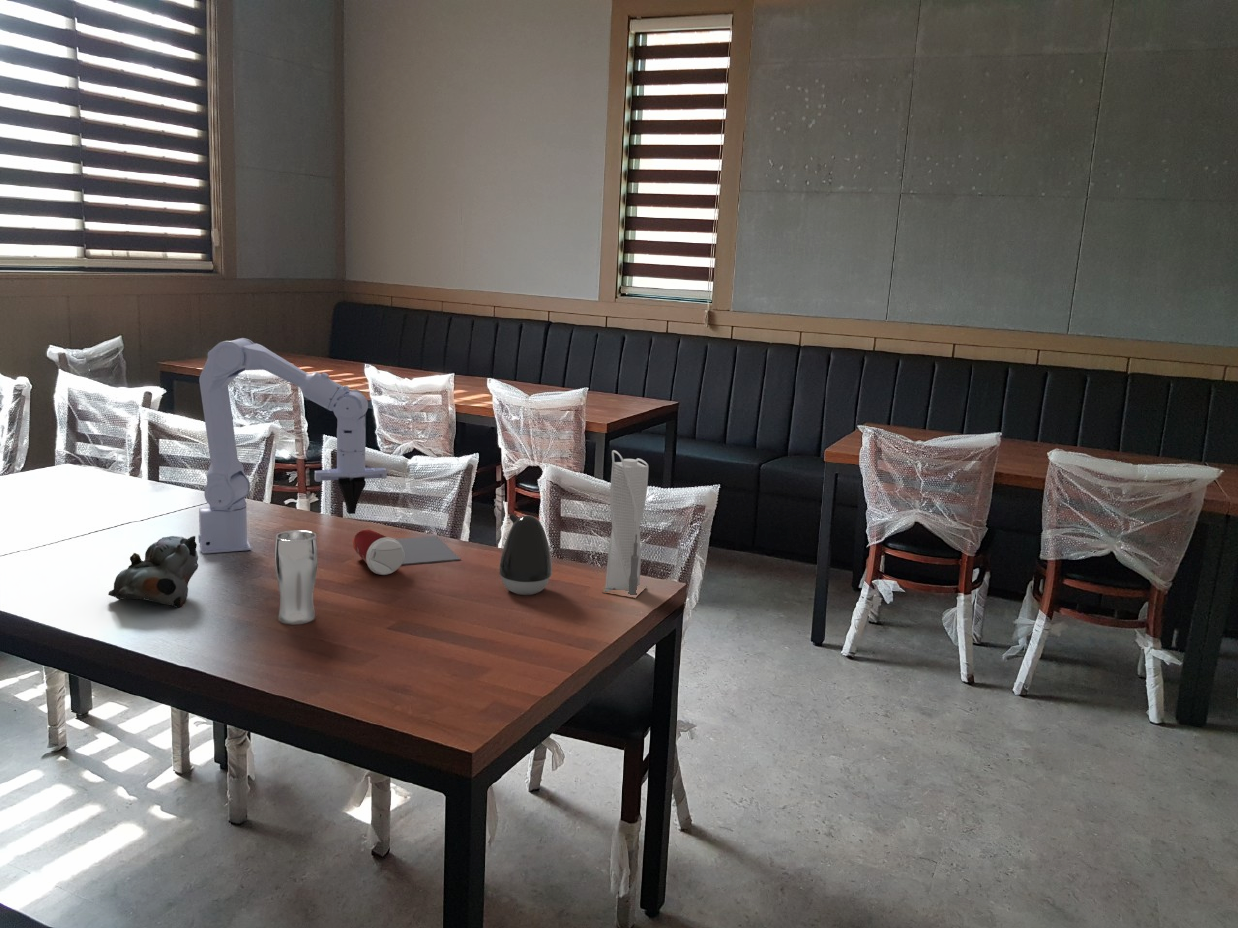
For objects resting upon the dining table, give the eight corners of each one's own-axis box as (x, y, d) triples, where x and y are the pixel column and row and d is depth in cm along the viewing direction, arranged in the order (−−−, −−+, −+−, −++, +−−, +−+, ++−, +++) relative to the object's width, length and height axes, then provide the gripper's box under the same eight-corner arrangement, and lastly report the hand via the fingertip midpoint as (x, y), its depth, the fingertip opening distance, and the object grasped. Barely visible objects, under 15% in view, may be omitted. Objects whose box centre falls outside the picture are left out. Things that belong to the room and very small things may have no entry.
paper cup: (342, 555, 196) (363, 572, 185) (353, 520, 197) (374, 534, 185) (378, 563, 201) (400, 579, 189) (388, 528, 201) (411, 543, 189)
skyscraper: (595, 591, 187) (603, 453, 181) (609, 580, 194) (617, 446, 189) (635, 598, 184) (644, 458, 178) (648, 586, 191) (657, 451, 186)
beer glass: (293, 629, 159) (293, 543, 156) (266, 619, 162) (265, 535, 159) (326, 617, 165) (326, 535, 162) (299, 608, 168) (299, 527, 165)
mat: (375, 567, 193) (375, 566, 193) (357, 543, 209) (357, 541, 209) (460, 560, 201) (460, 558, 201) (436, 537, 217) (436, 535, 217)
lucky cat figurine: (103, 595, 168) (133, 521, 172) (173, 613, 174) (200, 542, 178) (113, 597, 156) (144, 518, 160) (187, 617, 162) (216, 540, 166)
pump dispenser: (527, 578, 192) (531, 506, 189) (561, 592, 185) (565, 517, 182) (487, 588, 185) (489, 513, 182) (520, 603, 178) (523, 525, 175)
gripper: (318, 454, 190) (318, 519, 193) (390, 452, 197) (389, 515, 199) (312, 448, 196) (313, 511, 199) (382, 445, 203) (382, 507, 205)
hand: (351, 512), depth 200 cm, fingers closed
